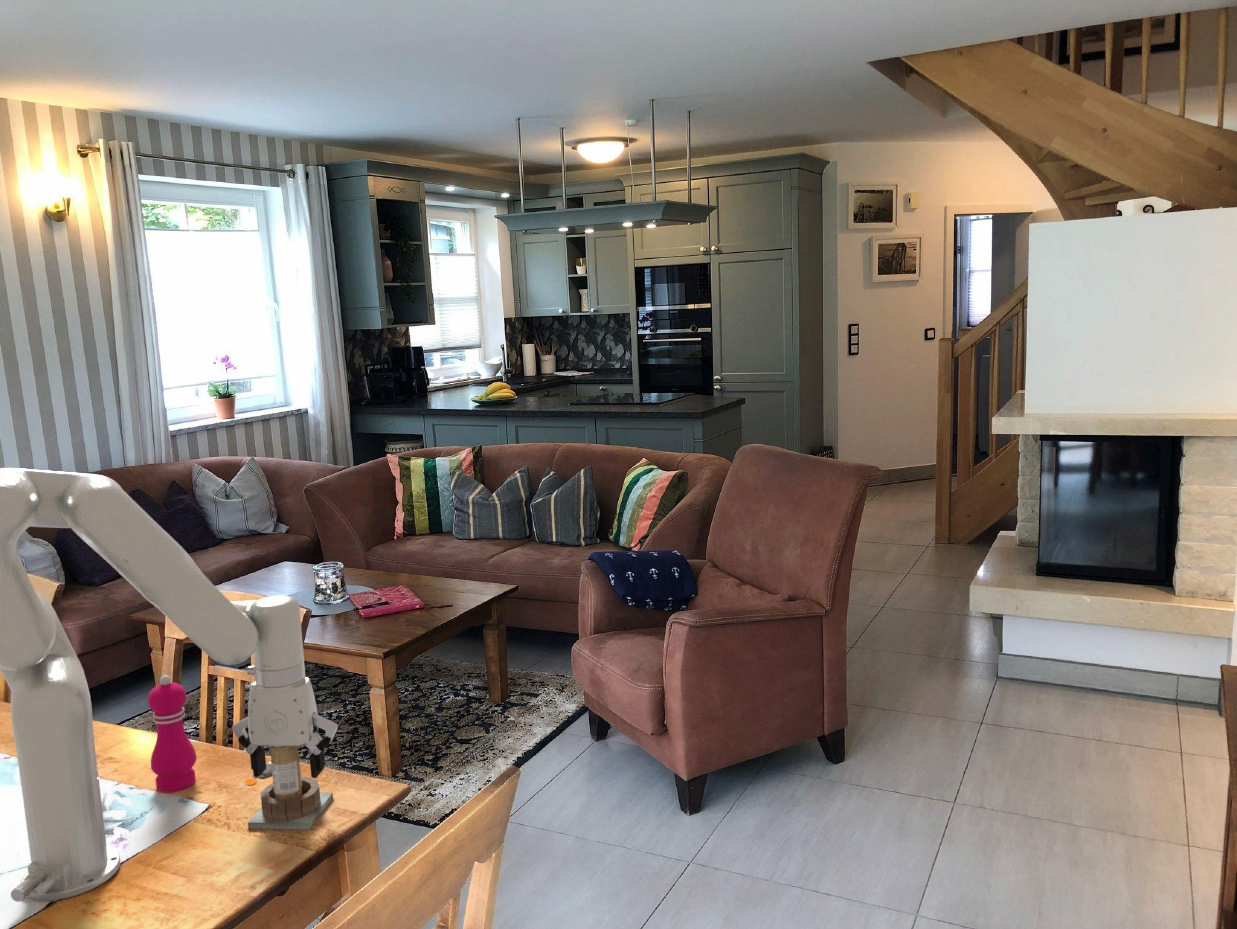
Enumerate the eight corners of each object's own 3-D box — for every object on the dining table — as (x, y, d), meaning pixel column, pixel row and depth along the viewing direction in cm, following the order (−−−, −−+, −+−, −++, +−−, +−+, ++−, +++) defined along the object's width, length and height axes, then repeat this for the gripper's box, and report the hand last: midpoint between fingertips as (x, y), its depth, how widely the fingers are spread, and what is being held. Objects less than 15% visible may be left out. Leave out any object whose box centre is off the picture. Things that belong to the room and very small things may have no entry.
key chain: (275, 763, 175) (275, 755, 174) (291, 766, 173) (291, 758, 173) (222, 795, 163) (221, 787, 163) (238, 799, 161) (238, 791, 161)
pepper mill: (206, 774, 170) (196, 668, 167) (184, 794, 162) (173, 683, 160) (168, 773, 170) (157, 667, 167) (144, 793, 163) (132, 683, 160)
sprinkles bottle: (307, 799, 158) (300, 723, 155) (299, 813, 153) (293, 735, 151) (279, 801, 157) (272, 724, 155) (270, 815, 153) (263, 736, 151)
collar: (309, 829, 150) (307, 805, 149) (248, 828, 151) (246, 804, 150) (333, 798, 160) (331, 775, 159) (275, 797, 161) (274, 775, 160)
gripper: (216, 682, 149) (226, 784, 151) (323, 682, 147) (331, 785, 150) (239, 664, 156) (248, 762, 159) (341, 665, 155) (348, 764, 157)
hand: (288, 773), depth 154 cm, fingers open, 9 cm apart
